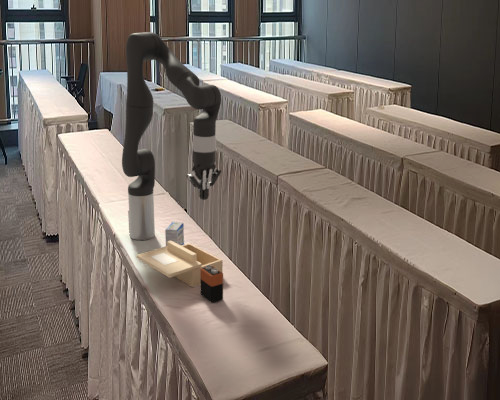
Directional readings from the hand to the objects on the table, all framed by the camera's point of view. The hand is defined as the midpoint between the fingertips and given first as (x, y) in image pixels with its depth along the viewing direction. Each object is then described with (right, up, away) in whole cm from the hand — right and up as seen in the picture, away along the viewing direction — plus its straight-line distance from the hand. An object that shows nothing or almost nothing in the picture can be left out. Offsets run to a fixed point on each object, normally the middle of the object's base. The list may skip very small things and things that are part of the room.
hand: (203, 199), depth 208 cm
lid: (-11, -20, -6) cm, 24 cm away
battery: (+4, -30, -15) cm, 34 cm away
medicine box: (-12, -18, +20) cm, 29 cm away
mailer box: (-4, -24, +1) cm, 25 cm away
